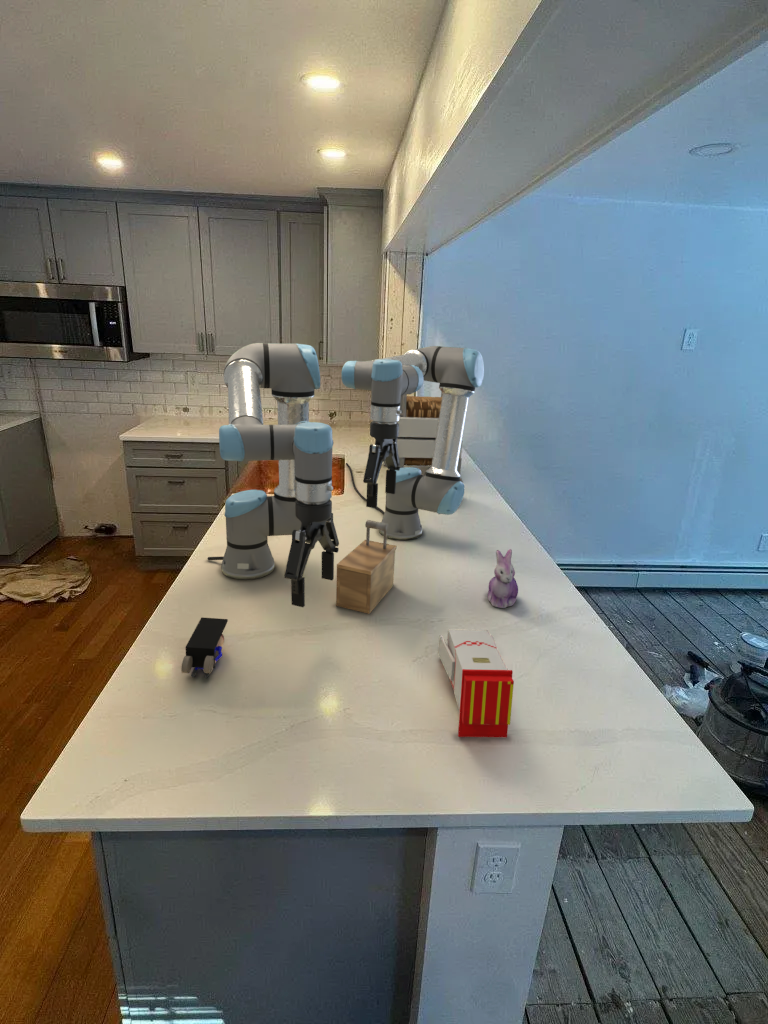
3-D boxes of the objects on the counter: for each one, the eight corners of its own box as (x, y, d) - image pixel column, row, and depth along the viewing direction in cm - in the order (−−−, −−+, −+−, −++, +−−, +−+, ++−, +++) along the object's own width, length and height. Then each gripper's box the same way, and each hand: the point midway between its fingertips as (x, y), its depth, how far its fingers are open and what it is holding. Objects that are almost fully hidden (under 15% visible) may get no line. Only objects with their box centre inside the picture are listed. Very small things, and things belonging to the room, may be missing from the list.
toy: (488, 613, 130) (523, 677, 101) (484, 667, 133) (517, 744, 104) (435, 612, 130) (455, 676, 101) (432, 666, 133) (451, 743, 103)
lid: (364, 542, 163) (365, 515, 160) (396, 549, 159) (397, 520, 157) (336, 567, 146) (337, 537, 143) (370, 575, 143) (372, 544, 140)
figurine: (500, 612, 150) (506, 561, 145) (477, 595, 159) (482, 546, 153) (527, 605, 154) (535, 555, 149) (504, 589, 163) (510, 541, 158)
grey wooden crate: (382, 463, 289) (386, 382, 275) (445, 464, 293) (451, 384, 279) (390, 482, 257) (394, 392, 243) (460, 483, 261) (468, 394, 247)
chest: (362, 579, 166) (363, 544, 162) (393, 585, 162) (395, 550, 159) (336, 605, 150) (336, 567, 146) (369, 613, 147) (370, 575, 143)
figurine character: (214, 689, 118) (231, 642, 131) (211, 660, 114) (228, 615, 128) (182, 688, 118) (201, 641, 131) (177, 659, 114) (198, 614, 128)
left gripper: (299, 521, 104) (300, 622, 111) (354, 486, 126) (352, 572, 133) (264, 514, 107) (267, 613, 114) (324, 481, 129) (324, 566, 136)
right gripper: (380, 431, 134) (376, 516, 141) (413, 416, 156) (409, 489, 163) (351, 428, 136) (349, 511, 143) (388, 413, 158) (385, 485, 165)
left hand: (313, 591), depth 124 cm, fingers open, 13 cm apart
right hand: (381, 499), depth 153 cm, fingers open, 13 cm apart
